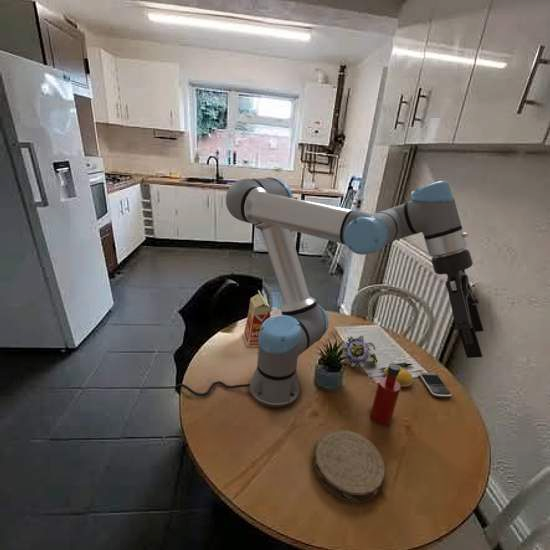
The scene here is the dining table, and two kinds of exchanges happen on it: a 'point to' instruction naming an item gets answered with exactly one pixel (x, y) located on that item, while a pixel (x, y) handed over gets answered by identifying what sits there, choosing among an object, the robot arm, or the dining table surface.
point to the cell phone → (435, 385)
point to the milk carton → (256, 319)
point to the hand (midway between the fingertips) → (475, 343)
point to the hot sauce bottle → (386, 396)
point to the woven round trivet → (349, 465)
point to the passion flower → (359, 351)
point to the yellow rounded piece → (402, 377)
